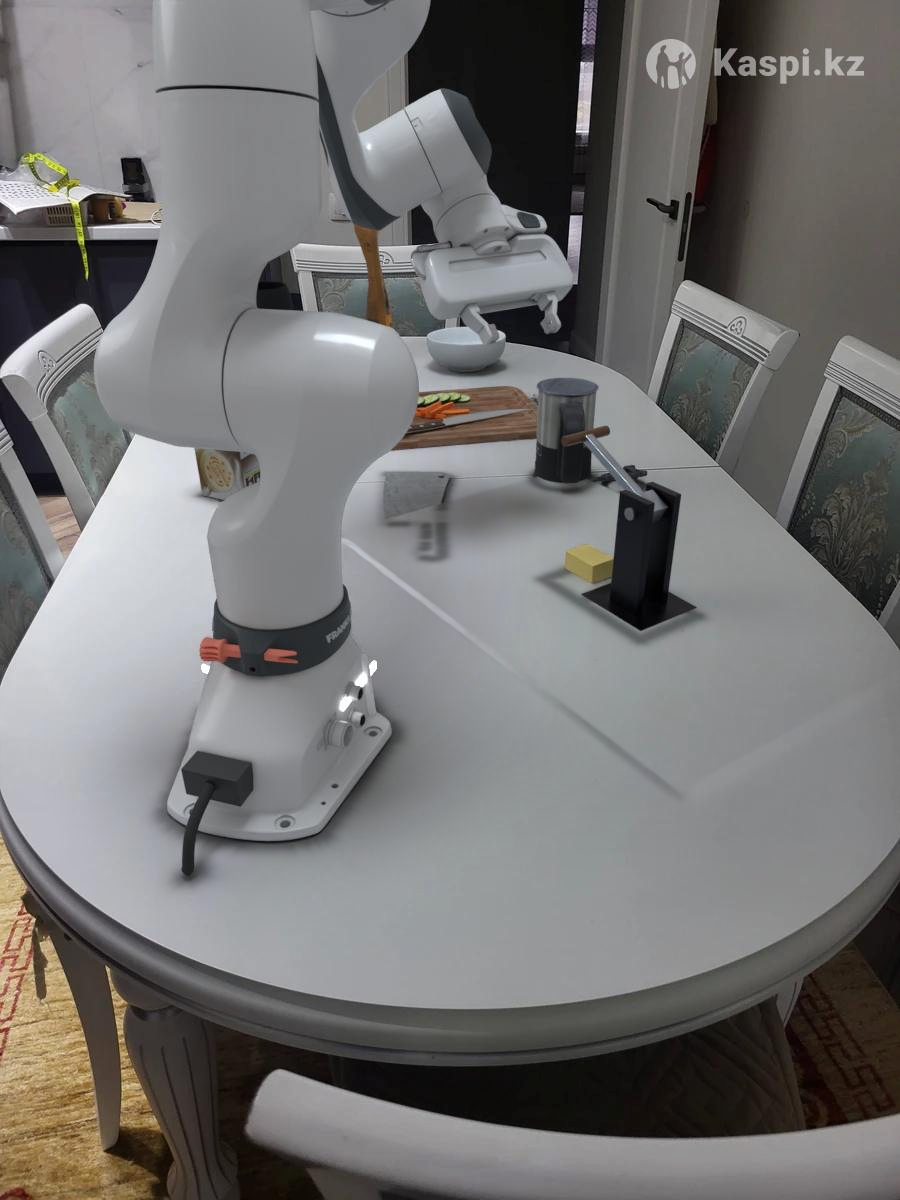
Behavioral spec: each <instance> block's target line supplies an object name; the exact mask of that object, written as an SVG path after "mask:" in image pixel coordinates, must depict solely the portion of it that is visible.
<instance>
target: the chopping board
mask: <svg viewBox="0 0 900 1200" xmlns="http://www.w3.org/2000/svg"><path fill="white" fill-rule="evenodd" d="M532 400H536V401H537V402H538V393H533V394H532V396H528V395H527V394H526V393H525V392H524V391H523V390H522V389H521V388H519V387H517V386H516V387H515V386H511V385H510V386H509V385H497V386H496V385H495V386H486V387H485V386H482V387H470V388H456V389H444V390H443V389H442V390H441V389H440V390H430V391H429V390H428V391H419V397H418V405H417V409H416V413H415V416H414V418H413V421H412V423H411V425H410V427H409V429H408V431H407V432H406V434H405V435H404V437H403V438H402V439H401V440H400V442H399V443H398V444H397V445H396V446H395V447H394V448H393V449H391V450H390V451H398V450H411V449H420V448H432V447H433V448H434V447H444V446H445V447H446V446H455V445H457V446H458V445H470V444H480V443H492V442H505V441H515V440H516V441H517V440H528V439H537V412H538V405H536V404H535V402H534V401H532Z"/></svg>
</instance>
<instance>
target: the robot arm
mask: <svg viewBox="0 0 900 1200" xmlns="http://www.w3.org/2000/svg"><path fill="white" fill-rule="evenodd" d="M431 1H432V0H152V30H151V31H152V32H151V33H152V34H151V35H152V63H153V65H152V66H153V78H154V91H155V102H156V114H157V126H158V128H157V129H158V141H159V155H160V156H159V157H160V158H159V159H160V177H161V178H160V179H161V180H160V183H161V217H160V218H161V219H160V227H159V233H158V239H157V244H156V248H155V252H154V254H153V258H152V261H151V265H150V267H149V269H148V272H147V274H146V276H145V279H144V281H143V283H142V284H141V287H140V288H139V290H138V291H137V293H136V294H135V296H134V298H133V299H132V300H131V301H130V302H129V303H128V304H127V306H126V307H124V309H122V311H121V312H119V314H117V315H116V316H115V317H113V319H111V320H110V322H109V323H108V324H107V326H106V327H105V329H104V330H103V332H102V334H101V336H100V337H99V340H98V343H97V346H96V347H95V353H94V359H93V381H94V385H95V389H96V393H97V396H98V399H99V401H100V403H101V405H102V407H103V409H104V411H105V412H106V414H107V415H108V417H109V418H110V419H111V421H112V422H113V423H114V424H115V426H117V427H118V428H120V429H122V430H123V431H126V432H128V433H131V434H134V435H137V436H141V437H143V438H145V439H150V440H153V441H156V442H160V443H162V444H166V445H170V446H173V447H180V448H190V449H191V448H192V449H194V448H201V449H213V450H225V451H236V452H247V453H250V454H255V455H256V457H257V459H258V461H259V466H260V481H259V482H257V483H254V484H252V485H250V486H248V487H245V488H243V489H241V490H240V491H238V492H236V493H234V494H233V495H231V496H230V497H228V498H227V499H226V500H222V502H221V503H220V504H219V505H218V507H216V509H215V511H214V512H213V514H212V516H211V518H210V521H209V525H208V528H207V532H206V540H207V547H208V552H209V553H208V554H209V558H210V564H211V570H212V571H211V572H212V578H213V585H214V589H215V590H214V591H215V596H216V598H215V601H214V604H213V615H212V619H211V620H212V622H211V632H212V637H209V636H205V637H204V638H202V640H201V642H200V645H199V651H198V652H199V657H200V660H201V661H202V662H210V663H209V665H207V664H205V663H202V664H201V671H202V673H205V674H206V676H205V681H204V684H203V687H202V691H201V693H200V698H199V702H198V705H197V708H196V713H195V716H194V720H193V723H192V726H191V730H190V735H189V738H188V745H187V748H186V751H185V754H184V756H183V759H182V761H181V764H180V766H179V768H178V772H177V774H176V776H175V779H174V781H173V785H172V786H171V789H170V791H169V794H168V798H167V801H166V808H167V809H166V810H167V813H168V815H170V816H171V817H172V818H173V819H174V820H175V821H177V822H179V823H180V824H182V825H183V826H185V830H184V834H183V840H182V849H181V850H182V851H181V852H182V853H181V872H182V874H183V875H185V876H187V877H190V876H192V874H193V873H194V870H195V853H196V841H197V835H198V832H201V833H205V834H210V835H212V836H213V835H214V836H218V837H223V838H224V837H225V838H228V839H229V838H230V839H236V840H244V841H258V842H259V841H260V842H280V841H291V840H296V839H301V838H307V837H309V836H312V835H313V836H314V835H316V834H319V832H321V831H322V830H323V829H324V828H325V826H326V825H327V824H328V822H330V820H331V819H332V817H333V816H334V815H335V813H336V812H337V810H338V809H339V808H340V806H341V805H342V803H343V802H344V801H345V799H346V798H347V797H348V795H349V794H350V793H351V791H352V790H353V789H354V787H355V786H356V785H357V783H358V782H359V780H360V779H361V777H362V776H363V775H364V774H365V772H366V771H367V770H368V768H369V766H370V765H372V762H373V761H374V760H375V758H376V757H377V756H378V754H379V753H380V752H381V750H382V749H383V748H384V746H385V744H386V743H387V742H388V741H389V739H390V738H391V736H392V734H393V730H392V725H391V722H390V720H389V719H387V717H386V716H384V715H382V714H381V713H379V712H378V711H377V709H376V702H375V693H374V687H373V679H372V675H373V674H374V672H375V671H376V670H377V661H376V660H373V661H372V662H371V663H370V659H369V656H368V655H367V654H366V652H365V651H364V650H363V649H362V648H361V646H360V645H359V644H358V643H357V641H356V640H355V637H353V635H352V633H351V631H352V604H351V600H350V597H349V595H350V594H349V591H348V588H347V586H346V585H345V584H344V578H343V577H344V576H343V557H342V556H343V555H342V530H343V529H342V528H343V527H342V526H343V517H344V511H345V507H346V505H347V502H348V499H349V496H350V494H351V492H352V490H353V488H354V487H355V485H356V483H357V482H358V480H359V479H360V477H361V476H362V475H363V474H364V473H365V472H366V471H367V469H368V468H369V467H371V465H372V464H373V463H375V462H376V461H378V459H380V458H382V457H383V456H385V455H386V454H388V453H390V451H392V450H391V449H393V448H394V447H395V446H396V445H397V444H398V443H399V442H400V440H401V439H402V438H403V437H404V435H405V434H406V432H407V431H408V429H409V427H410V425H411V423H412V421H413V418H414V416H415V413H416V409H417V405H418V397H419V392H420V382H419V374H418V369H417V366H416V362H415V360H414V357H413V355H412V352H411V351H410V349H409V347H408V345H407V344H406V342H405V341H404V339H403V338H402V336H401V335H400V334H399V332H397V331H396V330H395V329H394V327H393V328H391V327H388V326H385V325H381V324H378V323H375V322H371V321H368V320H366V319H365V318H360V317H356V316H353V315H348V314H344V313H340V312H335V311H317V310H315V311H314V310H313V311H312V310H295V309H293V310H276V309H259V308H257V305H256V294H257V286H258V282H260V278H261V276H262V273H263V271H264V269H265V268H266V266H267V265H268V263H269V262H270V261H272V260H274V259H276V258H278V257H280V256H282V255H284V254H285V253H287V252H289V251H291V250H293V249H294V248H296V247H297V246H298V245H300V244H301V243H302V242H303V241H305V240H306V239H307V237H308V236H309V235H310V234H311V233H312V231H313V230H314V228H315V226H316V224H317V222H318V220H319V217H320V215H321V211H322V206H323V199H322V196H323V195H322V167H321V166H322V163H321V161H322V160H321V144H322V149H323V151H324V156H325V160H326V164H327V167H328V177H329V183H330V187H331V190H332V193H333V196H334V198H335V201H336V202H337V205H338V207H339V208H340V210H341V211H342V213H343V214H344V216H345V217H346V218H347V219H348V220H349V221H350V222H351V223H352V224H353V225H354V224H355V225H357V226H360V227H363V228H367V229H371V230H378V232H380V231H381V230H383V229H385V228H387V227H388V226H389V225H390V224H392V223H395V221H397V220H398V219H399V218H401V217H402V215H404V214H407V213H408V212H410V211H411V210H413V209H415V208H416V207H419V206H421V208H422V209H423V211H424V212H425V213H426V214H427V216H429V218H430V220H431V222H432V228H433V234H434V235H435V238H436V240H437V243H436V242H435V243H432V244H419V245H418V246H416V249H414V250H412V252H411V254H410V263H411V266H412V268H413V271H414V272H415V274H416V275H417V276H418V282H419V286H420V290H421V292H422V296H423V299H424V301H425V305H426V308H427V309H428V311H429V313H430V315H431V316H432V317H434V318H435V319H437V320H438V321H445V320H451V319H458V318H461V320H462V322H463V325H465V327H469V328H470V329H471V330H473V331H474V332H475V333H476V334H478V335H479V337H480V339H481V341H482V343H483V345H489V344H494V343H496V341H497V340H498V339H499V333H498V331H496V330H498V329H497V326H496V324H495V323H491V324H489V323H488V322H487V321H486V320H485V319H484V318H483V317H482V316H481V315H482V314H489V313H494V312H495V313H496V312H502V311H509V310H513V309H519V308H526V307H531V306H538V308H539V310H540V311H541V312H543V311H544V319H542V321H540V324H539V325H540V326H541V328H542V329H543V332H544V334H545V335H549V334H554V333H557V332H558V331H559V330H561V329H560V328H562V322H561V320H560V319H559V316H558V314H557V313H558V303H559V302H560V301H562V300H563V299H564V298H565V297H566V296H567V295H568V293H569V292H570V291H571V289H572V288H573V285H574V278H575V277H574V274H573V272H572V269H571V267H570V265H569V263H568V261H567V258H566V257H565V256H564V253H563V251H562V250H561V248H560V247H559V245H558V244H557V242H556V241H555V240H554V239H553V238H552V237H551V236H550V235H548V234H545V232H546V230H547V229H548V225H547V222H546V220H545V218H544V217H543V216H541V215H539V214H536V213H533V212H532V213H531V212H527V211H523V210H519V209H516V208H514V207H512V206H509V205H506V204H502V203H501V201H500V199H499V197H498V196H497V195H496V193H495V192H493V190H492V189H491V188H490V186H489V183H488V178H487V174H488V171H489V168H490V163H491V158H492V153H493V150H492V144H491V142H490V140H489V137H488V136H487V134H486V132H485V130H484V129H483V127H482V125H481V124H480V122H479V121H478V119H477V117H476V113H475V110H474V108H473V105H472V103H471V101H470V99H469V98H468V97H467V96H466V95H463V94H462V93H459V92H457V91H454V90H452V89H448V88H439V89H437V90H434V91H432V92H430V93H428V94H426V95H424V96H422V97H420V98H418V99H417V100H415V101H414V102H411V103H410V104H409V105H407V106H405V107H403V108H402V109H401V110H399V111H397V112H396V113H394V114H392V115H391V116H389V117H386V118H385V119H384V120H382V121H380V122H378V123H376V124H375V125H374V126H371V127H370V128H368V129H366V130H364V131H361V132H359V129H358V125H357V119H356V116H355V113H356V110H357V107H358V106H359V103H360V102H361V100H362V99H363V97H364V96H365V95H366V94H367V93H368V92H369V90H370V89H371V88H372V87H373V86H374V84H376V83H377V82H378V80H380V79H381V78H382V77H383V76H384V74H386V73H387V72H388V71H389V70H390V69H391V68H392V67H393V66H395V65H396V64H397V62H399V61H400V60H401V59H402V58H404V57H405V56H406V54H407V53H408V52H409V51H410V50H411V48H412V47H413V46H414V45H415V43H416V41H417V40H418V38H419V36H420V35H421V33H422V31H423V29H424V26H425V25H426V22H427V19H428V15H429V11H430V7H431Z"/></svg>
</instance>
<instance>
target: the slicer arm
mask: <svg viewBox="0 0 900 1200" xmlns="http://www.w3.org/2000/svg"><path fill="white" fill-rule="evenodd" d="M610 434H611V429H610V427H609V426H608V425H602V426H598V427H594V428H593V429H590V430H586V431H582V432H578V433H574V434H571V435H567V436H563V437H562V438H561V443H562V445H563V446H565V447H566V446H570V445H574V444H578V443H582V442H583V443H584V444H585V445H586V446H587V447H588V448H589V450H590V451H591V452H592V455H594V457H595V458H596V459H597V461H599V463H600V464H601V465H602V466H603V468H605V469H606V471H607V472H608V473H610V474H611V475H612V476H613V477H614V478H615V480H614V481H616V482H617V483H618V485H620V486H621V488H622V489H623V490H628V491H630V492H632V493H635V494H637V495H639V496H641V497H643V498H645V499H648V500H650V501H652V502H654V503H655V506H654V514H653V523H656V522H659V521H660V519H661V518H662V516H663V514H664V513H665V511H666V509H667V508H668V506H667V505H666V504H665V503H664V502H663V501H662V500H661V498H660V497H659V496H658V495H657V494H656V493H655V492H654V491H653V490H649V491H646V490H645V491H646V492H645V491H644V490H643V489H642V488H641V487H640V486H639V485H638V483H636V481H634V480H633V479H632V478H631V477H630V476H629V475H628V474H627V473H626V471H625V470H624V469H623V467H622V466H621V464H620V463H619V462H618V461H617V460H616V459H615V458H614V456H612V454H611V453H610V452H609V451H608V450H607V448H606V447H605V446H604V445H603V444H602V443H601V442H600V441H599V440H598V439H600V438H604V437H608V436H609V435H610ZM653 523H652V524H653Z"/></svg>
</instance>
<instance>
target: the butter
mask: <svg viewBox="0 0 900 1200" xmlns="http://www.w3.org/2000/svg"><path fill="white" fill-rule="evenodd" d="M613 559H614V557H613V556H611V555H609V554H607V553H605V552H603V551H601V550H599V549H598V548H597V547H595V546H592V545H591V544H589V543H585V544H581V545H579V546H576V547H573V548H569V549H566V550H565V558H564V569H565V570H567V571H569V572H571V573H573V574H574V575H576V576H577V577H579V578H580V579H582V580H584V581H586V582H587V583H589V584H591V585H592V584H595V583H598V582H601V581H604V580H607V579H608V578H612V569H613Z"/></svg>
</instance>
